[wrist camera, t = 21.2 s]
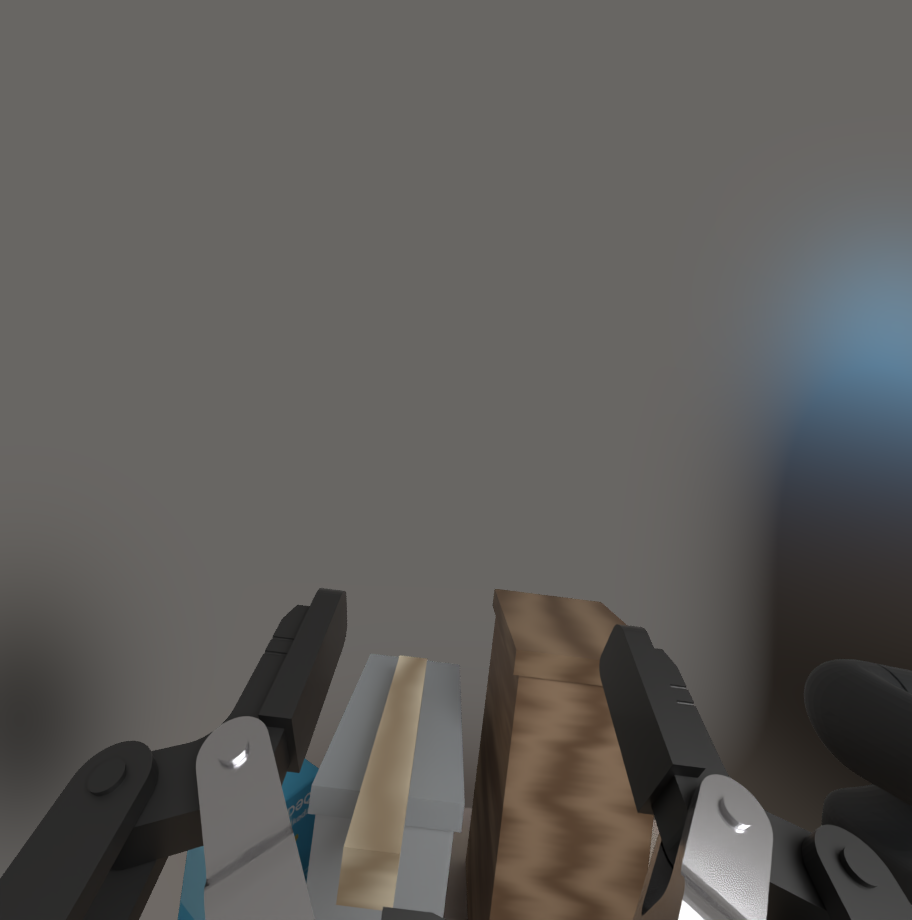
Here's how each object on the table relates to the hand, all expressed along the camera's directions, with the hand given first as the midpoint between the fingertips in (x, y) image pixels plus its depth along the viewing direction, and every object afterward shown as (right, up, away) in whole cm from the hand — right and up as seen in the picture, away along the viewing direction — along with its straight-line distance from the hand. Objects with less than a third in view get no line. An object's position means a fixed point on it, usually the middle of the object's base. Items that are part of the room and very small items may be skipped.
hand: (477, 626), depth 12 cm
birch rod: (-6, -19, +20) cm, 28 cm away
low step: (-8, -41, +26) cm, 49 cm away
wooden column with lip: (+6, -43, +27) cm, 51 cm away
